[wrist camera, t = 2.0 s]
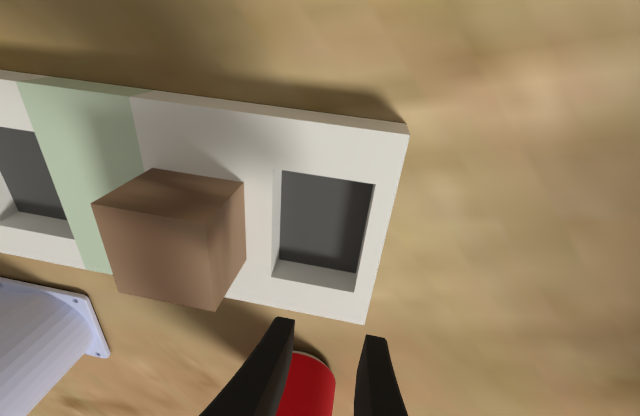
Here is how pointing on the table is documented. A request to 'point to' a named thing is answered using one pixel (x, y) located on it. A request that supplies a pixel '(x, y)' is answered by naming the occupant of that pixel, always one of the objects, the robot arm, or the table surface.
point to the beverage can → (307, 388)
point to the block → (174, 236)
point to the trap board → (212, 161)
